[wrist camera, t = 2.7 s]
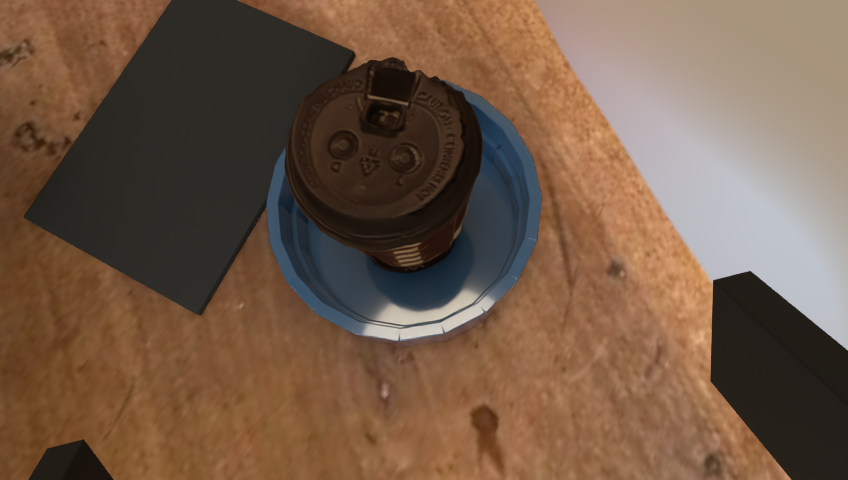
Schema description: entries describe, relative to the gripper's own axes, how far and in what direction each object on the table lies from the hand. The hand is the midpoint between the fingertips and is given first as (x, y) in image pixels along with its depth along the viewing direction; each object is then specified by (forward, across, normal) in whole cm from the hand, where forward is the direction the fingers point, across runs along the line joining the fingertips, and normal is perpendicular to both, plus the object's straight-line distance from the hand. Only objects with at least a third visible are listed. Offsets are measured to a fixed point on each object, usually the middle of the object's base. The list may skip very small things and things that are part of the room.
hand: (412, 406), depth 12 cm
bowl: (+23, 0, -7) cm, 24 cm away
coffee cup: (+23, 0, -7) cm, 24 cm away
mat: (+30, -12, 0) cm, 32 cm away
